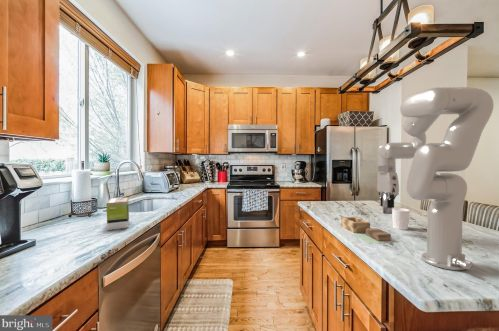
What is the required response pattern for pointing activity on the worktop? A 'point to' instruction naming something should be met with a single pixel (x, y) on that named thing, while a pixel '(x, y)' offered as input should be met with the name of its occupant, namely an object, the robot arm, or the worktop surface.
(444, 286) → the worktop surface
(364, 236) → the mat
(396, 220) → the white cup
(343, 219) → the slot block
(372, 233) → the walnut bar
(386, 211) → the silver cylinder
